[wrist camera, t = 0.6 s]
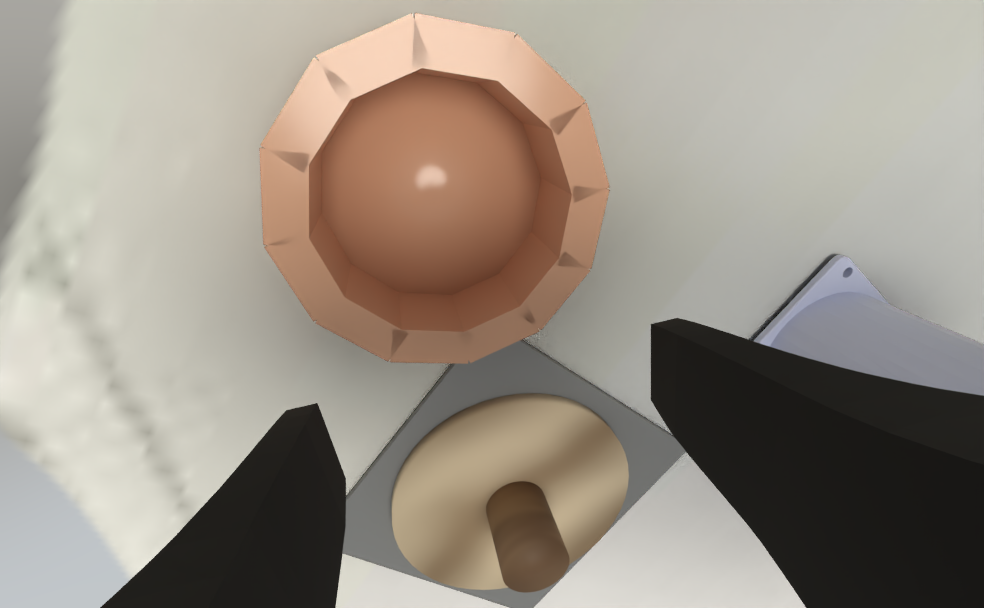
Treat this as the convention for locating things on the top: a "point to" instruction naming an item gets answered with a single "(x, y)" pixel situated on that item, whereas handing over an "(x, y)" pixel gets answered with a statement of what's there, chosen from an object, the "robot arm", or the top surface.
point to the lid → (509, 493)
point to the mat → (471, 385)
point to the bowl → (432, 190)
